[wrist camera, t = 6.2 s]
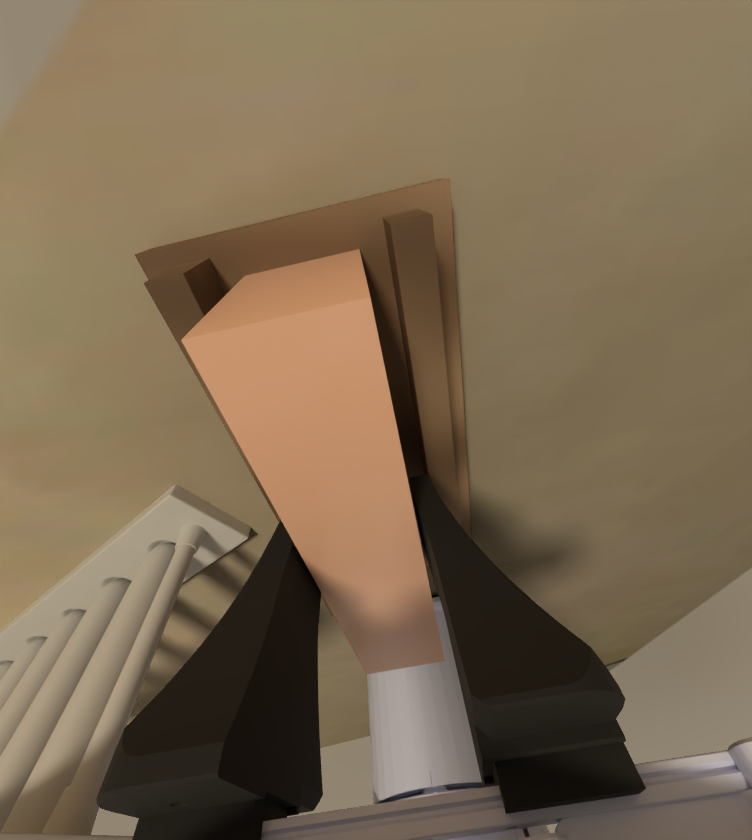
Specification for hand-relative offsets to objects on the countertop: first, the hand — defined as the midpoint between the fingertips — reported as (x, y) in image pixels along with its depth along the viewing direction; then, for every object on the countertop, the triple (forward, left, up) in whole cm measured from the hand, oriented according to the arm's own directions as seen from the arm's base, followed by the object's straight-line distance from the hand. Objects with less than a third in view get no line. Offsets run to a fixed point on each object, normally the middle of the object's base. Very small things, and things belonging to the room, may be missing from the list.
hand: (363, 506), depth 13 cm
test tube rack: (-8, +19, -4) cm, 21 cm away
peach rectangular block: (0, 0, -3) cm, 3 cm away
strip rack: (0, 0, -4) cm, 4 cm away
